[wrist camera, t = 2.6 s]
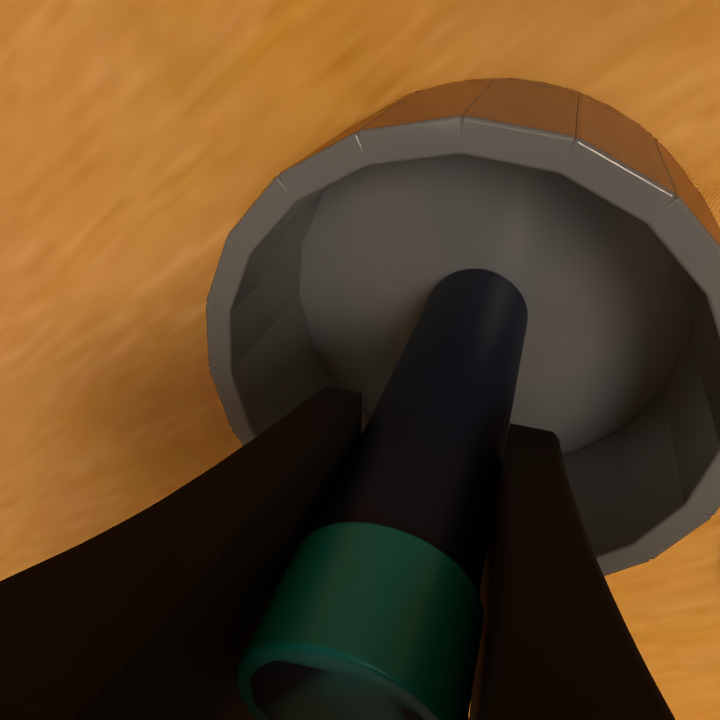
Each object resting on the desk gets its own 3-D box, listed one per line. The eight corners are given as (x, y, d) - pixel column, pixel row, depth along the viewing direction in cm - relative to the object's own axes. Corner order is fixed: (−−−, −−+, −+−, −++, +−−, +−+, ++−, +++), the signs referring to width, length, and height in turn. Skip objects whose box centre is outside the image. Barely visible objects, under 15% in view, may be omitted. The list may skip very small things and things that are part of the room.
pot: (767, 418, 13) (826, 566, 10) (395, 488, 18) (352, 603, 14) (635, -33, 10) (659, -36, 6) (220, 199, 14) (113, 264, 11)
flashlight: (549, 343, 13) (500, 801, 6) (450, 371, 14) (307, 779, 7) (507, 246, 12) (389, 642, 5) (405, 285, 13) (191, 648, 6)
